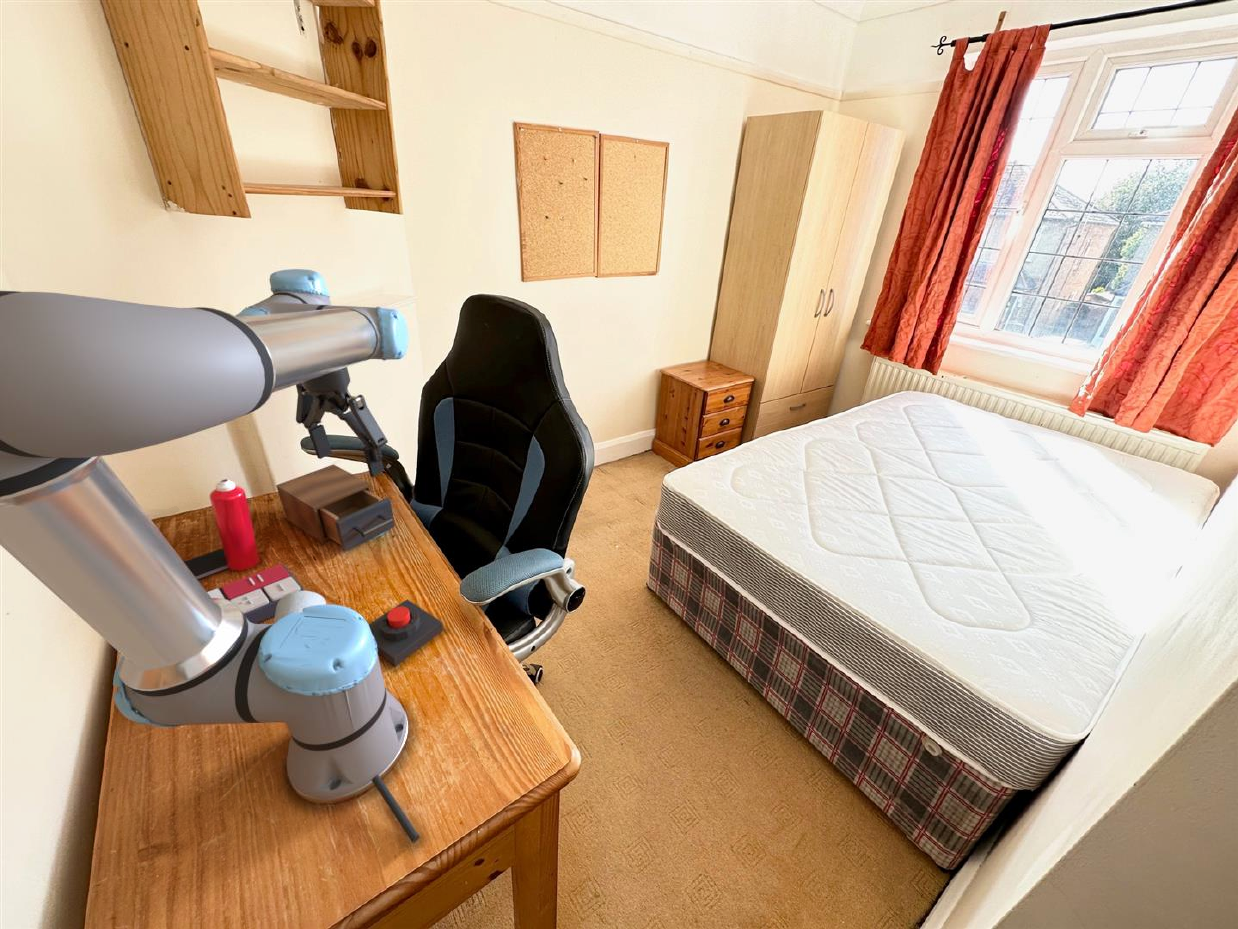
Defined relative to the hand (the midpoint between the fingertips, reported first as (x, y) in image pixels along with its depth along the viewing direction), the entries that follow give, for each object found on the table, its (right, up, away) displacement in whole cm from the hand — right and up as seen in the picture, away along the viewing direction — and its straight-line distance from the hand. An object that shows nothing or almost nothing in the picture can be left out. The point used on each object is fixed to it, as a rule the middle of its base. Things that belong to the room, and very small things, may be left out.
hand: (350, 464), depth 96 cm
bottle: (-26, -21, +6) cm, 34 cm away
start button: (+14, -28, -10) cm, 33 cm away
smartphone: (-34, -23, +2) cm, 41 cm away
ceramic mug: (-2, -31, -9) cm, 32 cm away
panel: (+14, -31, -8) cm, 35 cm away
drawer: (-8, -16, +17) cm, 24 cm away
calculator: (-16, -27, -5) cm, 32 cm away
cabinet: (-17, -13, +22) cm, 31 cm away
